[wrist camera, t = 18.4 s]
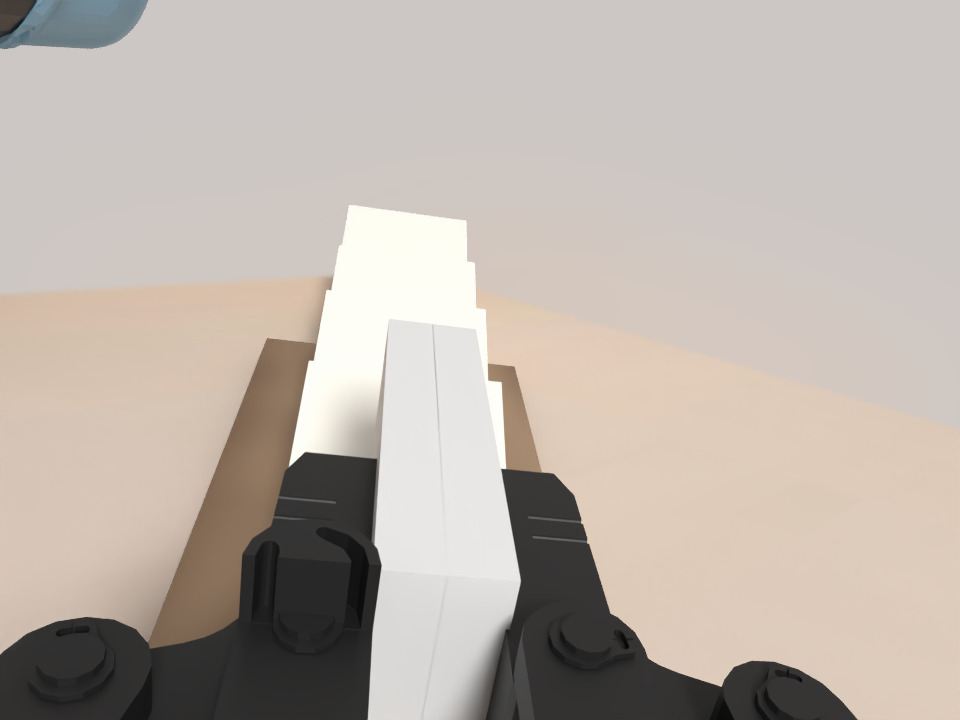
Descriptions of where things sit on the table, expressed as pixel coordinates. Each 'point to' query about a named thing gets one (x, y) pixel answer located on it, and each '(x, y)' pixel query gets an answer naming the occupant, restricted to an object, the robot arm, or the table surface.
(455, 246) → the domino
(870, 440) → the table surface
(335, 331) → the domino
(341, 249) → the domino
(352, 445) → the domino
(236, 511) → the board
